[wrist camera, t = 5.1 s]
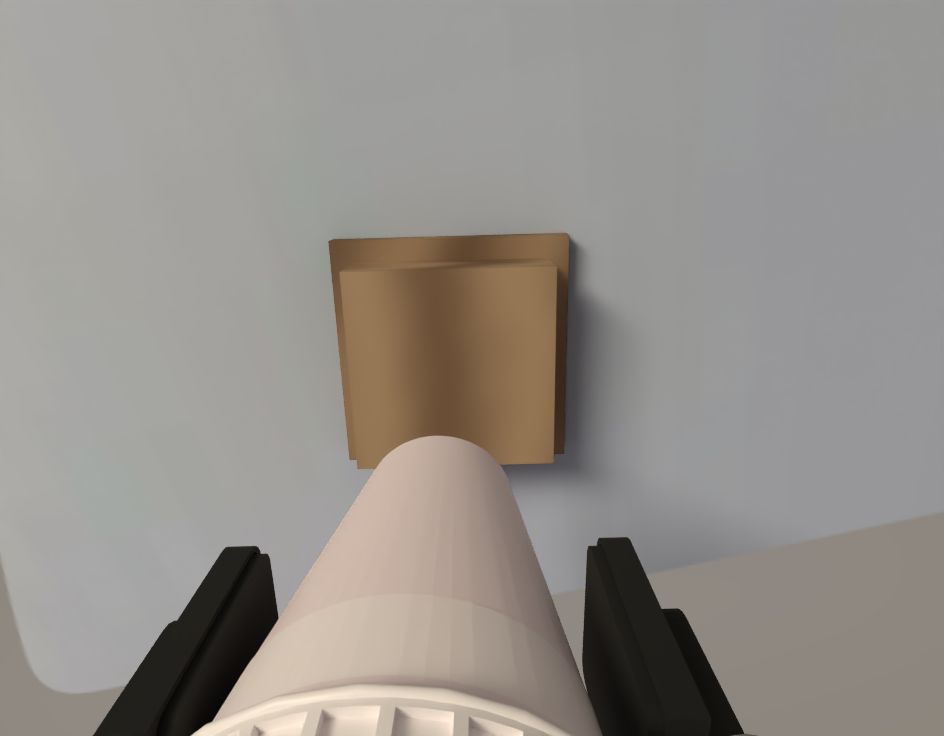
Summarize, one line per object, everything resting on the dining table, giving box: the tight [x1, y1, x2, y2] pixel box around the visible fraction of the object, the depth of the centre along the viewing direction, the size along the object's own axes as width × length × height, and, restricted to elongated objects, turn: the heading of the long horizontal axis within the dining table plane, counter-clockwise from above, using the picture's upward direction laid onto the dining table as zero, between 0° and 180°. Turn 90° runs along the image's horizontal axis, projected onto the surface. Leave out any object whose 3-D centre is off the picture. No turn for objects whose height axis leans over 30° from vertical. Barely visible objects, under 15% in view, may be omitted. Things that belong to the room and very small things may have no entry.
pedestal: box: [329, 233, 569, 469], centre depth 28 cm, size 11×11×4 cm
